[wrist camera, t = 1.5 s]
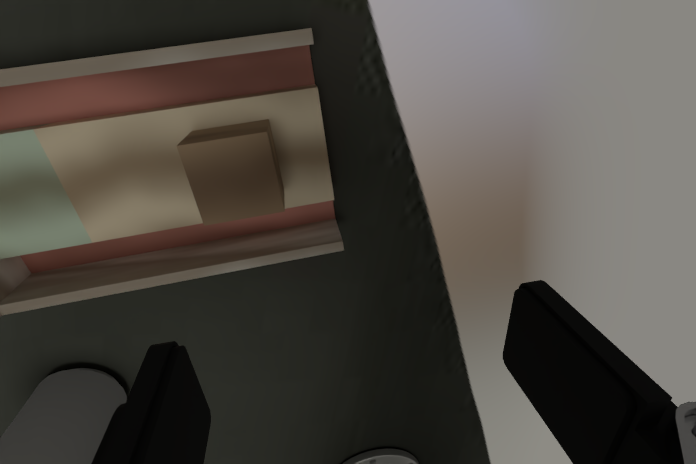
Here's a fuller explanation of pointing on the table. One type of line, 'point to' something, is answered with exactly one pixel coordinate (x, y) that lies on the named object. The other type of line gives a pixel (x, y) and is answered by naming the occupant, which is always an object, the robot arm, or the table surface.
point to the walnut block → (233, 171)
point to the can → (63, 419)
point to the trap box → (151, 168)
